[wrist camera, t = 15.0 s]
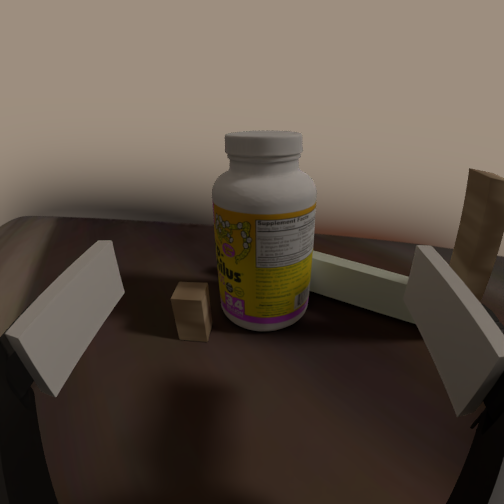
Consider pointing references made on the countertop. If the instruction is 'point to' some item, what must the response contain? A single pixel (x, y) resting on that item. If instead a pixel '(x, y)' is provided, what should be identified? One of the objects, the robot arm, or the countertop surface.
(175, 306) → the wooden post frame
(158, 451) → the countertop surface
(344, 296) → the bar
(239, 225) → the supplement bottle
